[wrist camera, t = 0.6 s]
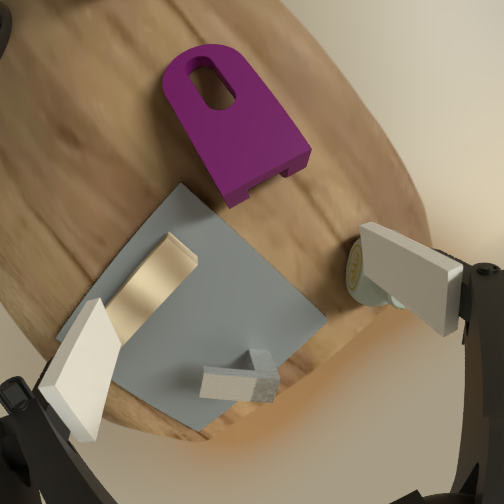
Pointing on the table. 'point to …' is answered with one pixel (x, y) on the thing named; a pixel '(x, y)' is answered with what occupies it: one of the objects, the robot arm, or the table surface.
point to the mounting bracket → (235, 123)
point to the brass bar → (149, 286)
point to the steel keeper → (242, 380)
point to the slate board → (202, 311)
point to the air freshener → (365, 282)
